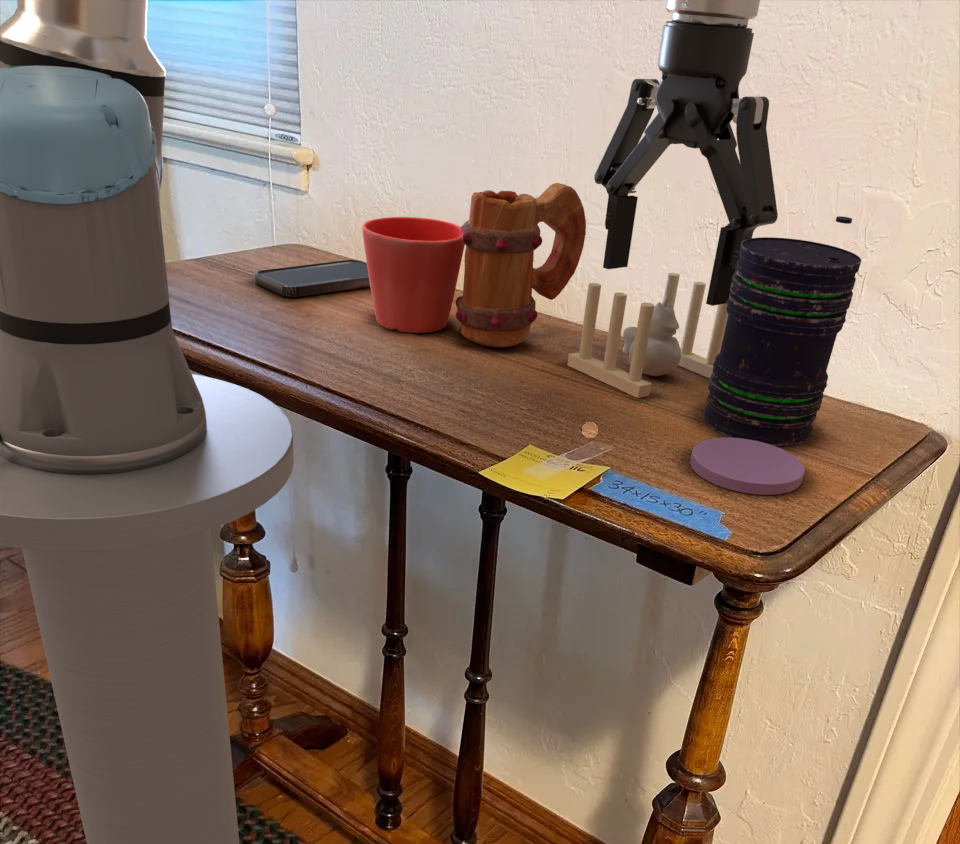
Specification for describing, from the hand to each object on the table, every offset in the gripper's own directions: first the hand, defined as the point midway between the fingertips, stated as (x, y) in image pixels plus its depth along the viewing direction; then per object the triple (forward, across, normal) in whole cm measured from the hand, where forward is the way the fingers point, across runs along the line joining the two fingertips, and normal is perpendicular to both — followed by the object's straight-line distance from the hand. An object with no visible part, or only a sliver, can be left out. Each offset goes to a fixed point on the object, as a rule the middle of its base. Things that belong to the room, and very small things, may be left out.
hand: (664, 284), depth 92 cm
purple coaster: (+8, -21, +10) cm, 25 cm away
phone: (+8, +40, +14) cm, 43 cm away
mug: (+9, +14, +6) cm, 18 cm away
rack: (+8, 0, 0) cm, 9 cm away
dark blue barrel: (+9, -15, +1) cm, 17 cm away
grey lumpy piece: (+9, 0, 0) cm, 9 cm away
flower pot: (+8, +23, +13) cm, 28 cm away
